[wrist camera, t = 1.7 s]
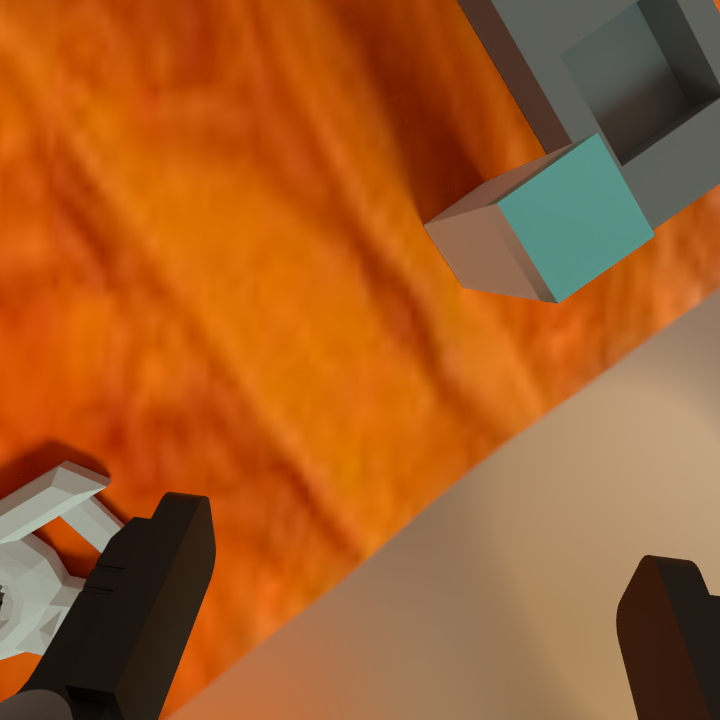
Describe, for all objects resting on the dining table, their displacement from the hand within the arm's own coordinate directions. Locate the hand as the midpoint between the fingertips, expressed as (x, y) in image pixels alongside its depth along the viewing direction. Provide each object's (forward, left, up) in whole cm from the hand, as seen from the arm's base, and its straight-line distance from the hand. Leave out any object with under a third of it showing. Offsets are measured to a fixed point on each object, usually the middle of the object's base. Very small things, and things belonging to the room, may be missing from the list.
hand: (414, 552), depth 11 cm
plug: (-1, +10, -21) cm, 23 cm away
